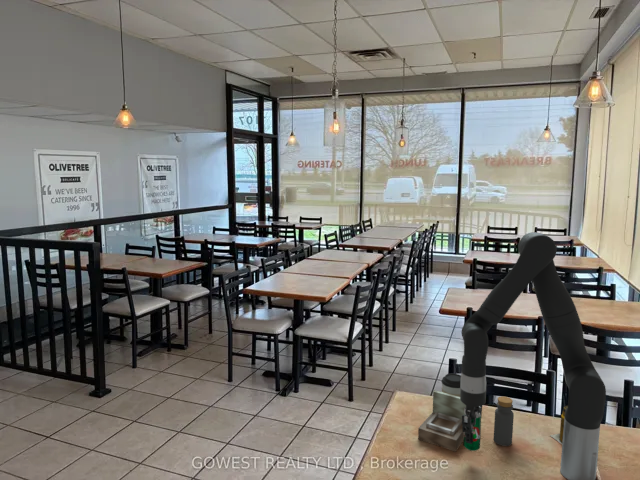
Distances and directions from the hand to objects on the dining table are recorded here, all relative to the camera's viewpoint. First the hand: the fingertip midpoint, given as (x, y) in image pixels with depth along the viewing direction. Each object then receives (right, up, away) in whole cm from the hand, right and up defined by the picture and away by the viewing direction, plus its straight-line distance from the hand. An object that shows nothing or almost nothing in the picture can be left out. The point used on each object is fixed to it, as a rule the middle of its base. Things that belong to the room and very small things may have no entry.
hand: (471, 438), depth 147 cm
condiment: (+36, -6, +12) cm, 39 cm away
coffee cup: (+2, -4, +30) cm, 30 cm away
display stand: (-5, -5, +15) cm, 17 cm away
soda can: (0, -3, 0) cm, 3 cm away
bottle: (+14, -6, +12) cm, 19 cm away
